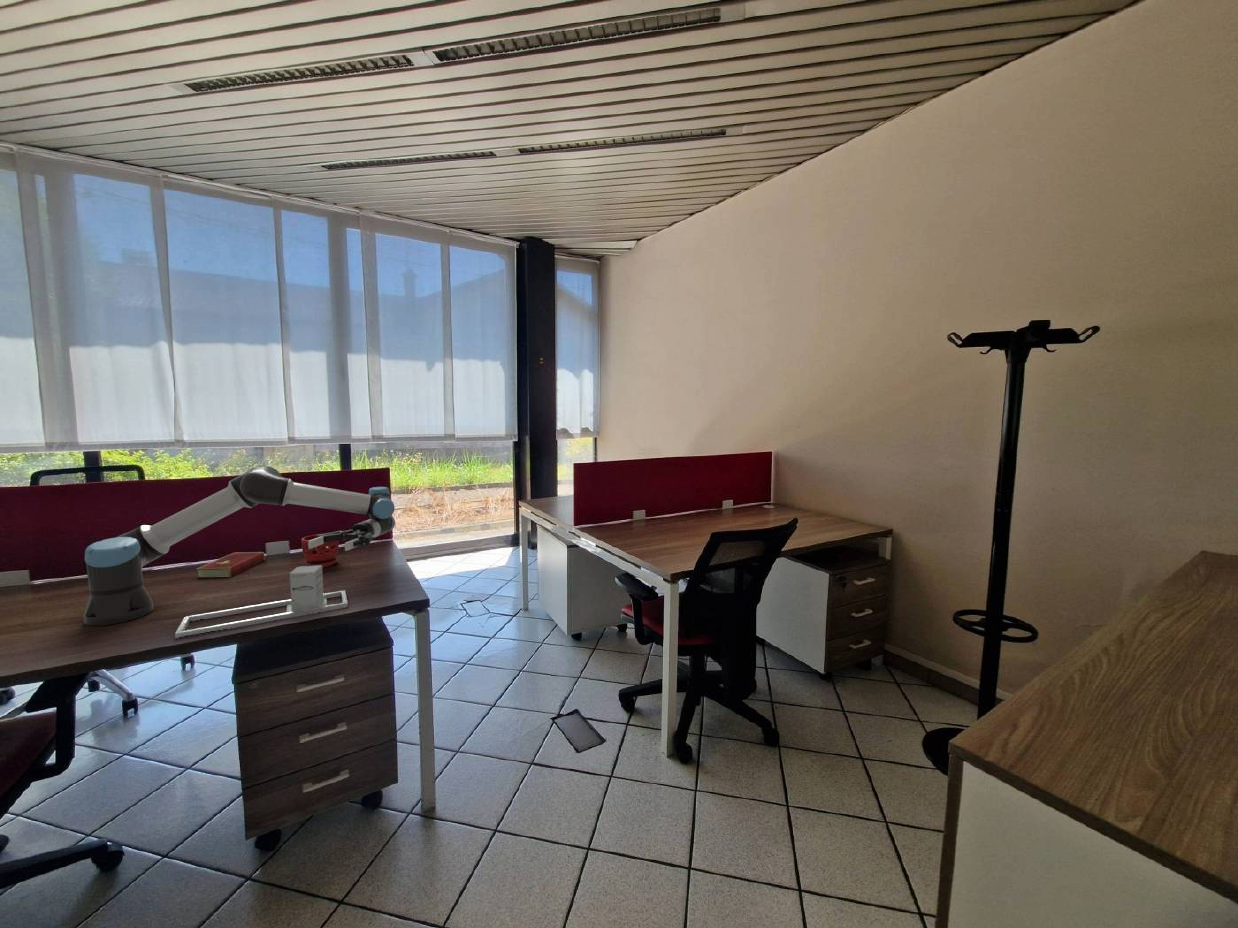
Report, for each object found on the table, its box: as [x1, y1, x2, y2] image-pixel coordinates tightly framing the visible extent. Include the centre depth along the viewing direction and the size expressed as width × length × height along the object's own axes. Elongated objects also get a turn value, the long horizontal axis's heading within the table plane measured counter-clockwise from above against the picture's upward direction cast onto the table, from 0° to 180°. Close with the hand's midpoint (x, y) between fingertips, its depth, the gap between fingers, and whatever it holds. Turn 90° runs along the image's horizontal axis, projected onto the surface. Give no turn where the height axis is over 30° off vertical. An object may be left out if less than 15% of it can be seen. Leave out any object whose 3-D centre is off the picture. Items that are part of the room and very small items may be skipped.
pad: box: [285, 598, 328, 613], centre depth 159 cm, size 11×10×1 cm
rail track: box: [174, 589, 349, 639], centre depth 154 cm, size 42×13×2 cm, turn 122°
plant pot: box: [300, 533, 340, 568], centre depth 201 cm, size 13×13×12 cm
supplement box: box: [289, 565, 324, 611], centre depth 158 cm, size 7×7×13 cm
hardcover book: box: [195, 551, 266, 578], centre depth 196 cm, size 12×21×4 cm, turn 5°
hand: (327, 545), depth 169 cm, fingers open, 13 cm apart
